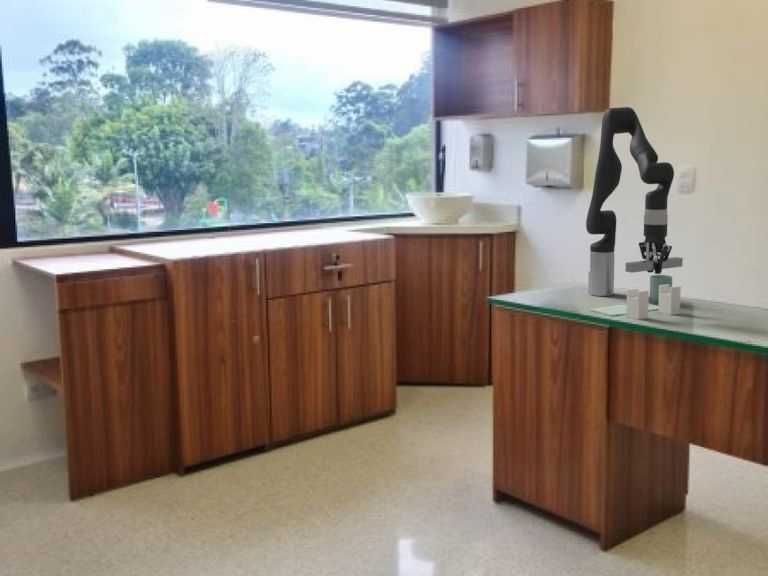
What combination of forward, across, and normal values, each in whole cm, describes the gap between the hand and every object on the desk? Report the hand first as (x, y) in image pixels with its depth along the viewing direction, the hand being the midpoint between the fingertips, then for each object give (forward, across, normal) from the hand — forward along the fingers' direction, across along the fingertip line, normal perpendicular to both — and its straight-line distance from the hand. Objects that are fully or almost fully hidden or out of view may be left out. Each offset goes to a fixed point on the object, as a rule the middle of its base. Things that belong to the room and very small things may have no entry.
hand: (654, 272), depth 262 cm
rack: (+15, 0, 0) cm, 15 cm away
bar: (-1, 0, 0) cm, 1 cm away
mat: (+15, -12, -1) cm, 19 cm away
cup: (+15, -15, +17) cm, 27 cm away
